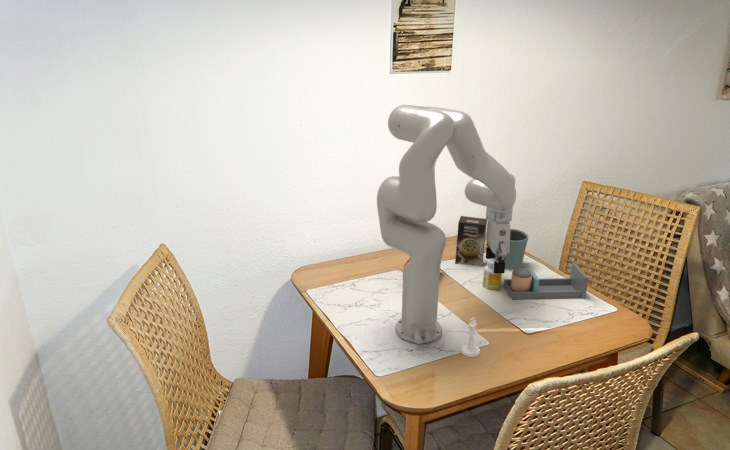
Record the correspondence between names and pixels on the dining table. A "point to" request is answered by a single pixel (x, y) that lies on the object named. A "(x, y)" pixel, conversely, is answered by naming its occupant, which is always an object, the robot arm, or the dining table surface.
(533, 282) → the plate
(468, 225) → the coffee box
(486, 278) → the supplement bottle
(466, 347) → the chess piece
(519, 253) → the teal cup
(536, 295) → the lane
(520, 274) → the jar
